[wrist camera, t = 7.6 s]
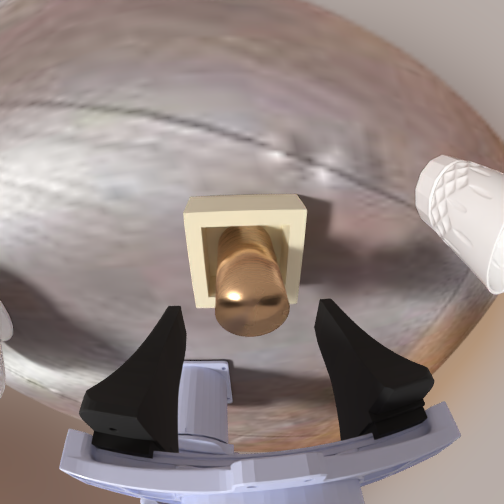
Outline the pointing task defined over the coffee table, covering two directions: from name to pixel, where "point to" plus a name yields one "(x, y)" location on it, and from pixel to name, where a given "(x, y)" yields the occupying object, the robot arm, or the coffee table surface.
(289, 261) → the cream square tray
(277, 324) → the brown cylinder
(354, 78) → the coffee table surface
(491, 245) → the white cup
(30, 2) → the coffee table surface
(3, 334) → the decorative vase
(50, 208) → the coffee table surface
